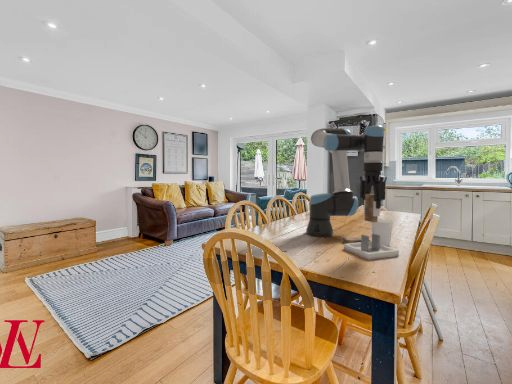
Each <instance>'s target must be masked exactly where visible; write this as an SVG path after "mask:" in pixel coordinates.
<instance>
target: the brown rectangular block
mask: <svg viewBox="0 0 512 384" xmlns="http://www.w3.org/2000/svg"><path fill="white" fill-rule="evenodd" d="M374 200H375V196H374V193H370V194H365V214H364V221H365V222H377V220H378V219H379V216H373V207H374Z"/></svg>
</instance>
